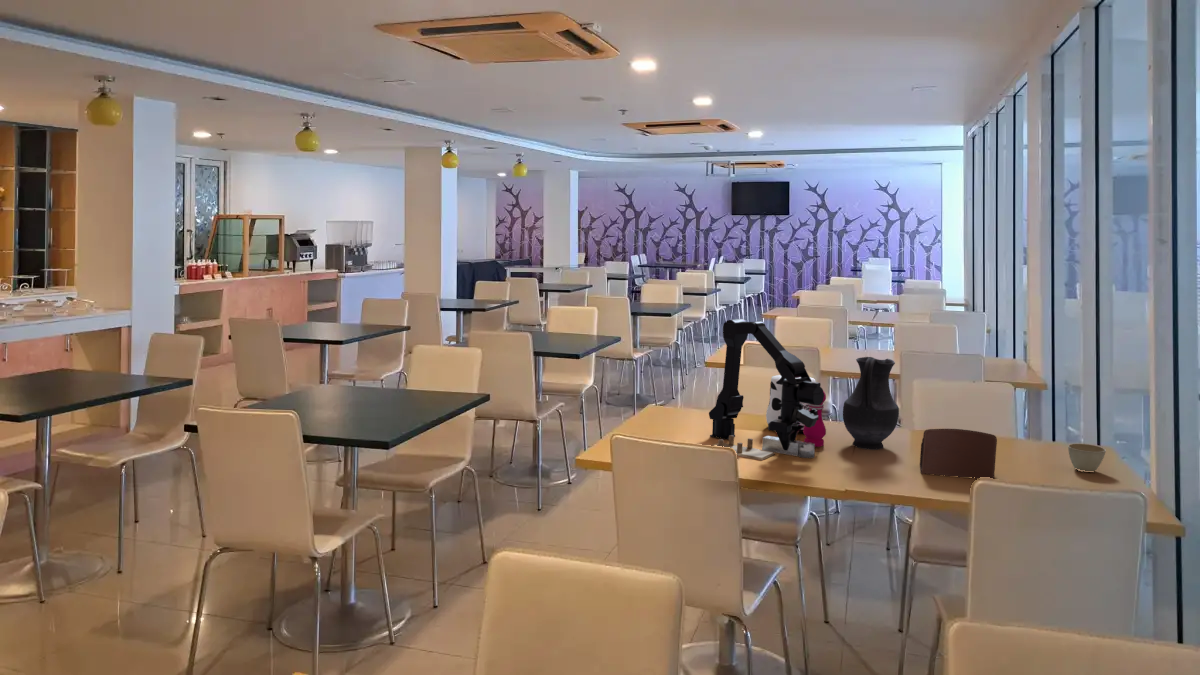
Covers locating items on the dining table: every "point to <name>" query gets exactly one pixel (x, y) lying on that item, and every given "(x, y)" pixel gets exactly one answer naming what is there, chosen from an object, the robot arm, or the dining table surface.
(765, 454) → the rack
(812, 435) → the pepper mill
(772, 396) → the milk container
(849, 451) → the dining table surface
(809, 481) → the dining table surface
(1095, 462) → the grey bowl
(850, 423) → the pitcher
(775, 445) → the round-headed grey paddle
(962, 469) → the letter holder
